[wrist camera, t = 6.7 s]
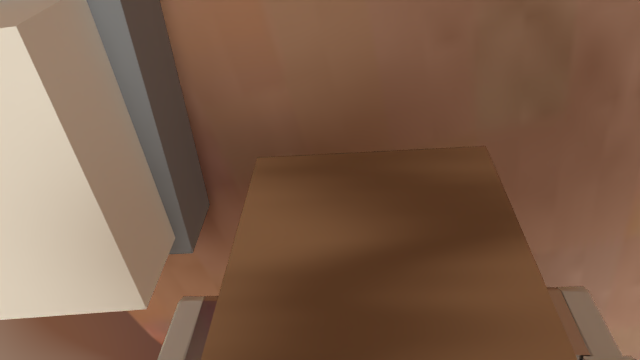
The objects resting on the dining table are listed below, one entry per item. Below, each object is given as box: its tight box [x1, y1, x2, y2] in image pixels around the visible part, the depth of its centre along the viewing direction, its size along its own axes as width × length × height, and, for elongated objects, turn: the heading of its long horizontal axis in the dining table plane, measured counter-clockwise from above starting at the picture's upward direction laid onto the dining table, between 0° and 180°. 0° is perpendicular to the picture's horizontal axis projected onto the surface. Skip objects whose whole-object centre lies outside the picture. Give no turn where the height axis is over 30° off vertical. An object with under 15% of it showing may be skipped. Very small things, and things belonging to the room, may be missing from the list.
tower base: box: [86, 0, 210, 254], centre depth 26 cm, size 13×15×5 cm
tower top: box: [0, 0, 175, 320], centre depth 22 cm, size 10×13×5 cm
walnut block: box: [201, 146, 577, 360], centre depth 10 cm, size 5×5×6 cm
